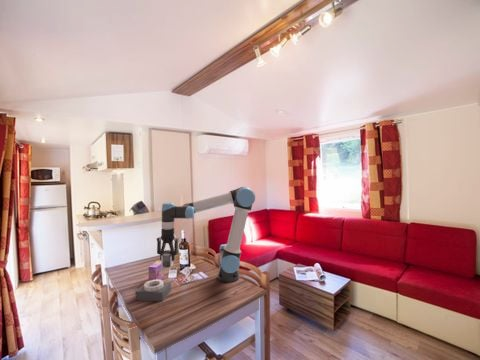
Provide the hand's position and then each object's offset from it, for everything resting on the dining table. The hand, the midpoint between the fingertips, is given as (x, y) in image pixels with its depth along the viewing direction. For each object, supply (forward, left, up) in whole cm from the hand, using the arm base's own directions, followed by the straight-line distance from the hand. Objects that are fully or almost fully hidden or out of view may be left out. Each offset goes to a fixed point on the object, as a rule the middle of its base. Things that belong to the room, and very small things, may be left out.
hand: (167, 265), depth 140 cm
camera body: (+6, +5, -16) cm, 18 cm away
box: (+13, -13, -16) cm, 24 cm away
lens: (0, 0, 0) cm, 0 cm away
